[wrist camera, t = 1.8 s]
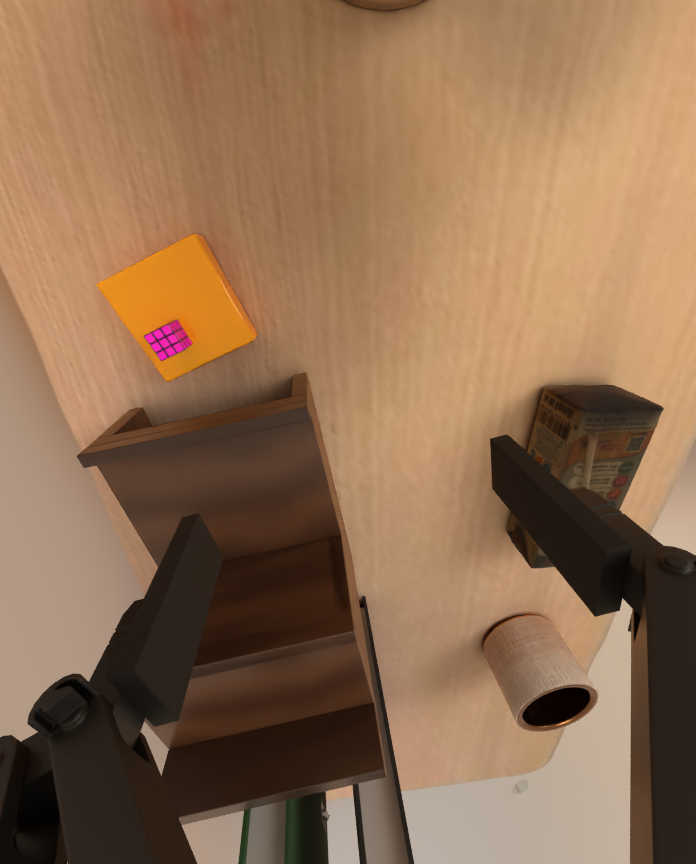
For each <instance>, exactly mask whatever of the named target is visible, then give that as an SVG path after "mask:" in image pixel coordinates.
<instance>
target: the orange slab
mask: <svg viewBox="0 0 696 864" xmlns="http://www.w3.org/2000/svg"><path fill="white" fill-rule="evenodd" d="M97 287H98V288H99V290H100V291H101V292H102V294H103V295H104V297H105V298H106V299H107V301H108V302H109V303H110V305H111V306H112V308H113V309H114V310H115V312H116V313H117V314H118V316H119V317H120V319H121V320H122V321H123V323H124V324H125V325H126V327H127V328H128V330H129V331H130V332H131V334H132V335H133V337H134V338H135V339H136V341H137V342H138V343H139V345H140V346H141V348H142V349H143V350H144V352H145V353H146V354H147V356H148V357H149V359H150V360H151V361H152V363H153V364H154V365H155V367H156V368H157V370H158V371H159V372H160V374H161V375H162V376H163V378H164V379H165V381H166V382H169V381H171V380H173V379H175V378H177V377H179V376H181V375H183V374H185V373H187V372H189V371H192V370H194V369H196V368H198V367H200V366H202V365H204V364H206V363H208V362H210V361H212V360H214V359H216V358H218V357H221V356H223V355H225V354H227V353H229V352H231V351H233V350H235V349H237V348H239V347H241V346H243V345H245V344H247V343H250V342H252V341H254V339H255V338H256V336H257V332H256V331H255V329H254V327H253V325H252V323H251V322H250V320H249V318H248V316H247V314H246V313H245V311H244V309H243V307H242V305H241V303H240V302H239V300H238V298H237V296H236V294H235V293H234V291H233V289H232V287H231V285H230V284H229V282H228V280H227V278H226V276H225V275H224V273H223V271H222V269H221V267H220V266H219V264H218V262H217V260H216V258H215V257H214V255H213V253H212V251H211V249H210V248H209V246H208V244H207V242H206V240H205V239H204V237H203V236H202V235H198V234H192V235H190V236H188V237H186V238H184V239H182V240H180V241H178V242H176V243H174V244H172V245H170V246H169V247H167V248H165V249H163V250H161V251H159V252H157V253H155V254H153V255H151V256H149V257H147V258H145V259H144V260H142V261H140V262H138V263H136V264H134V265H132V266H130V267H128V268H126V269H124V270H122V271H121V272H119V273H117V274H115V275H113V276H111V277H109V278H107V279H105V280H103V281H101V282H99V283H98V284H97Z"/></svg>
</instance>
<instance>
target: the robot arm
mask: <svg viewBox="0 0 696 864" xmlns="http://www.w3.org/2000/svg"><path fill="white" fill-rule="evenodd" d="M345 1H347V2H349V3H352V4H354V5H358V6H361V7H364V8H370V9H376V10H391V9H400V8H404V7H407V6H411V5H414V4H416V3H419V2H421V1H424V0H345ZM490 446H491V467H492V489H493V490H494V491H495V492H496V494H497V495H498V496H499V497H500V499H501V500H502V501H503V502H504V504H505V505H506V506H507V507H508V509H509V510H510V511H511V512H512V514H513V515H514V516H515V517H516V519H517V520H518V521H519V522H520V524H521V525H522V526H523V527H524V529H525V530H526V531H527V532H528V534H529V535H530V536H531V537H532V539H533V540H534V541H535V542H536V544H537V545H538V546H539V547H540V549H541V550H542V551H543V552H544V554H545V555H546V556H547V557H548V559H549V560H550V561H551V562H552V564H553V565H554V566H555V567H556V569H557V570H558V571H559V572H560V574H561V575H562V576H563V577H564V578H565V580H566V581H567V582H568V583H569V585H570V586H571V587H572V588H573V590H574V591H575V592H576V593H577V595H578V596H579V597H580V598H581V600H582V601H583V602H584V603H585V605H586V606H587V607H588V608H589V610H590V611H591V612H592V613H593V615H594V616H595V617H596V616H600V615H604V614H608V613H612V612H616V611H619V610H620V606H621V601H622V598H623V599H624V600H625V601H626V602H627V603H628V604H629V605H630V606H631V607H632V608H633V611H632V615H631V619H630V624H629V628H628V631H630V632H631V795H630V796H631V797H630V798H631V801H630V864H696V556H695V555H693V554H691V553H690V552H688V551H685V550H682V549H679V548H676V547H670V546H663V545H662V544H661V543H659V542H658V541H657V540H656V539H654V538H653V537H652V536H651V535H650V534H648V533H647V532H646V531H645V530H643V529H642V528H641V527H640V526H638V525H637V524H636V523H635V522H634V521H632V520H631V519H630V518H629V517H627V516H626V515H625V514H622V512H621V511H620V510H619V509H617V508H616V507H615V506H612V504H611V503H610V502H609V501H608V500H606V499H605V498H604V497H603V496H601V495H600V494H599V493H596V492H594V491H592V490H590V489H587V488H585V487H580V488H576V489H572V490H569V489H568V488H567V487H566V486H565V485H564V484H563V483H561V482H560V481H559V480H558V479H557V478H556V477H555V476H554V475H552V474H551V473H550V472H549V471H548V470H547V469H546V468H545V467H543V466H542V465H541V464H540V463H539V462H538V461H537V460H536V459H534V458H533V457H532V456H531V455H530V454H529V453H528V452H526V451H525V450H524V449H523V448H522V447H521V446H520V445H519V444H517V443H516V442H515V441H514V440H513V439H512V438H511V437H510V436H508V435H503V436H499V437H495V438H491V439H490ZM222 560H223V556H222V554H221V552H220V550H219V548H218V547H217V545H216V543H215V541H214V539H213V537H212V536H211V534H210V532H209V530H208V528H207V527H206V525H205V523H204V521H203V519H202V517H201V516H200V514H199V513H197V514H193V515H189V516H185V517H182V519H181V521H180V523H179V525H178V527H177V529H176V531H175V533H174V536H173V538H172V540H171V542H170V544H169V546H168V548H167V550H166V553H165V555H164V557H163V559H162V561H161V563H160V565H159V567H158V570H157V572H156V574H155V576H154V578H153V580H152V582H151V584H150V587H149V589H148V591H147V593H146V595H145V597H144V599H141V600H137V601H134V603H133V604H132V605H131V606H130V607H129V608H128V610H127V611H126V612H125V613H124V614H123V616H122V618H121V620H120V622H119V624H118V626H117V628H116V629H115V630H116V632H115V633H114V634H113V636H112V637H111V639H110V641H109V645H107V647H106V649H105V651H104V653H103V655H102V657H101V659H100V661H99V663H98V665H97V667H96V669H95V671H94V673H93V675H92V677H91V679H90V681H89V682H88V681H87V680H86V679H85V678H84V677H83V676H82V675H81V674H71V675H68V676H65V677H63V678H62V679H60V680H59V681H57V682H55V683H54V684H53V685H51V686H50V687H49V688H48V689H47V690H46V691H45V692H44V693H43V694H42V695H41V696H40V698H39V699H38V700H37V701H36V703H35V704H34V706H33V708H32V710H31V712H30V714H29V717H28V724H29V725H30V726H31V727H32V728H34V729H35V730H36V731H38V733H36V734H34V735H32V736H31V737H29V738H27V739H25V740H23V741H22V742H20V741H19V740H17V739H16V738H15V737H13V736H12V735H9V736H2V737H1V738H0V864H67V861H68V864H197V862H196V860H195V857H194V855H193V852H192V850H191V847H190V845H189V842H188V840H187V838H186V835H185V833H184V830H183V828H182V825H181V823H180V821H179V818H178V816H177V813H176V811H175V808H174V806H173V804H172V801H171V799H170V796H169V794H168V791H167V789H166V787H165V784H164V782H163V779H162V777H161V774H160V772H159V770H158V767H157V765H156V763H155V760H154V757H153V755H152V753H151V750H150V748H149V745H148V743H147V741H146V738H145V736H144V735H143V734H142V733H141V732H140V731H141V728H142V725H143V723H144V720H145V718H146V719H147V720H148V721H149V722H150V723H151V724H152V725H153V726H154V727H157V726H161V725H165V724H169V723H173V722H177V721H179V718H180V714H181V710H182V707H183V703H184V699H185V695H186V692H187V688H188V684H189V681H190V677H191V673H192V670H193V666H194V662H195V659H196V655H197V651H198V648H199V644H200V640H201V637H202V633H203V629H204V626H205V622H206V618H207V615H208V611H209V607H210V604H211V600H212V596H213V593H214V589H215V585H216V582H217V578H218V574H219V571H220V567H221V563H222Z"/></svg>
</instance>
